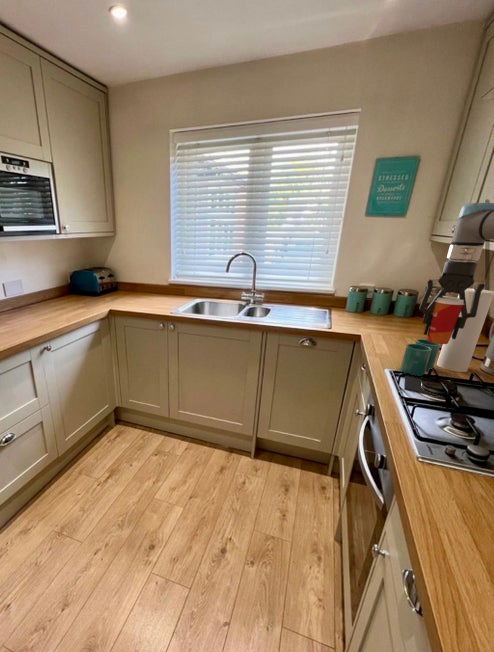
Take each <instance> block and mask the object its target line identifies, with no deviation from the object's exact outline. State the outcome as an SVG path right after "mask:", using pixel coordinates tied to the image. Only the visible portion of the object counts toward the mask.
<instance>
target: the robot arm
mask: <svg viewBox="0 0 494 652" xmlns="http://www.w3.org/2000/svg"><path fill="white" fill-rule="evenodd" d="M457 216H458V217H457V218H456V222H455V227H454V230H453V235H452V238H451V239H452V240H451V242H450V245H449V246H448V247H449V248H448V251H447V255H446V259H447V260H446V261H444V265H443V269H442V273H441V274H440V276H439V277H438V278H434V279H433V278H432V279H431V278H429V279H428V280H427V287H426V290H425V292H424V295H423V297H422V300H421V303H420V305H419V308H418V311H419V312H422V313H423V314H424V315H423V318H422V324H424V325H425V326H424V329H423V336H427V335H428V330H429V325H430V322H431V318H432V311H433V309H434V307H435V304H436V302H435V301H436V300H437V298H438V297H439V298H442V297H443V296H446V293H449V294H451V293H453V294H457V295H458V294H459V299H460V300H464V302H463V303H464V305H463V306H462V308H461V317H458V320H457V322H456V325H455V327H454V331H453V334H452V339H456V336H457V333H458V330H459V328H461V329H463V328H464V325H465V322H466V320H467V318H471V317H476V313H477V309H478V304H479V299H480V294H481V291H482V290H484V289H485V288H486V285H485V284H484V283H483V282H477V281H475V279H474V278H475V274H476V271H477V268H478V264H479V263H478V261H480V258H481V255H482V252H483V249H484V246H485V243H486V241H494V202H469V203H466V204H464V205H463V206H462V207H461V209H460V211H459V214H458V215H457ZM438 283H439V285H440V287H441V289H440V290H439V292H438V293H437V294H436V296H435V297H434V298H433V299H432V301H431V302H430V303H429V305H428V306H427V303H428V301H429V299H430V296H431V293H432V291H433V288H434V287H436V285H437V284H438ZM472 286H473V287H472ZM470 287H472V289H474V290H475V291H474V295H473V300H472V305H471V310H470V313H467V307H466V299H465V290H466V289H467V288H470ZM426 306H427V307H426Z"/></svg>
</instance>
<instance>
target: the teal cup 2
mask: <svg viewBox="0 0 494 652" xmlns="http://www.w3.org/2000/svg"><path fill="white" fill-rule="evenodd" d="M414 344H419V345H424V346H427V347H430V348H431V349H432V350H431V354H430V357H429V360H428V364H427V367H426V370H425V372H427V371H428V370H429V368H433V369H434V367H435V363H436V362H437V361H436V360H437V357H438V354H439V352H440V347H441V344H437V343H432V342H429V341H427V338H425V339H423V338H419V339H418V338H417V339H416V340H415V343H414ZM428 372H429V371H428Z"/></svg>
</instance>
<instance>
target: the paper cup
mask: <svg viewBox="0 0 494 652" xmlns="http://www.w3.org/2000/svg"><path fill="white" fill-rule="evenodd" d="M435 302H436V304H435V307H434V309H433V310H432V311H431V313H432V318H431V322H430V325H429V329H428V332H427V335H426V340H427V341H429V342H432V343H437V344H440V345H443V344H448V342H449V340H450V338H451V335H452V333H453V330H454V327H455V325H456V322H457V320H458V317H459V315H460V312H461V308H462V306H463V305H464V303H463V302H464V300H460V299H459V298H458V296H457V297H456V296H448V295H443V297H442V298H439V297H438V298H437V300H436V301H435Z"/></svg>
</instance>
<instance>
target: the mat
mask: <svg viewBox="0 0 494 652" xmlns="http://www.w3.org/2000/svg"><path fill="white" fill-rule="evenodd" d="M421 379H422V378H420V377H414V376H409V375H404V386H403V387H404V388H403V389H404V390H405V391H410V392H415V393H418V394H423V395H427V396H431V395H432V396H433V397H436V396H440V395H437V394H434V393H431V392H428V391H425V390H423V389H422V388H421ZM432 396H431V397H432Z"/></svg>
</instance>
